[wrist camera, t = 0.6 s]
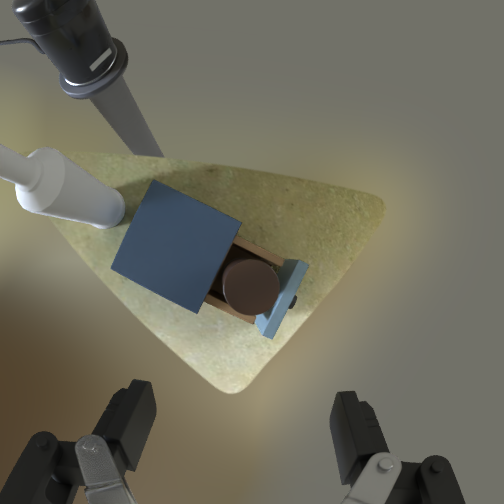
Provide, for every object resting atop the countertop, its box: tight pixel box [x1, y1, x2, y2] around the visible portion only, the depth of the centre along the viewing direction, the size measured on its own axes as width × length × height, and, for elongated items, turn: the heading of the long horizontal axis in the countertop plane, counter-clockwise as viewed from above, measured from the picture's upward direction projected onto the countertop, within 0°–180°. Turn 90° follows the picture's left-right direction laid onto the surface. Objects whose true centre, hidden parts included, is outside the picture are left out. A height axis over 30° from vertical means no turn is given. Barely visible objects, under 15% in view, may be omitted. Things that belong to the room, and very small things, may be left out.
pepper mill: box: [221, 258, 280, 316], centre depth 28 cm, size 4×4×13 cm
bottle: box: [0, 144, 125, 229], centre depth 22 cm, size 5×5×25 cm
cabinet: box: [111, 180, 242, 314], centre depth 31 cm, size 9×9×8 cm
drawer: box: [204, 235, 309, 339], centre depth 32 cm, size 10×8×7 cm
